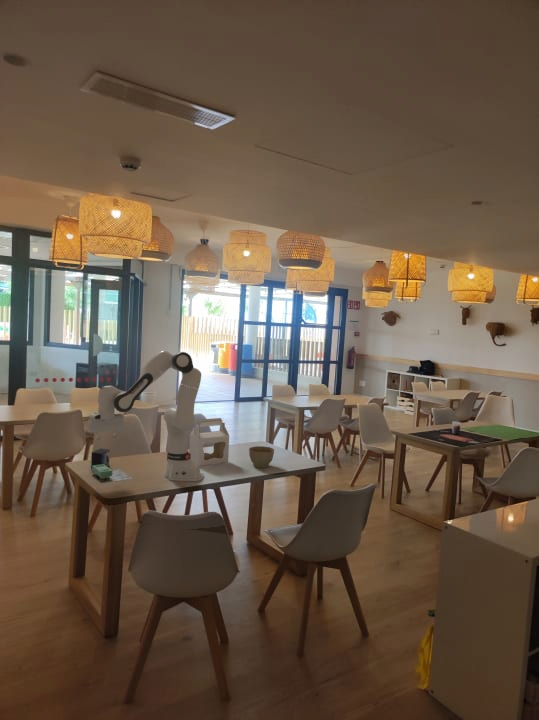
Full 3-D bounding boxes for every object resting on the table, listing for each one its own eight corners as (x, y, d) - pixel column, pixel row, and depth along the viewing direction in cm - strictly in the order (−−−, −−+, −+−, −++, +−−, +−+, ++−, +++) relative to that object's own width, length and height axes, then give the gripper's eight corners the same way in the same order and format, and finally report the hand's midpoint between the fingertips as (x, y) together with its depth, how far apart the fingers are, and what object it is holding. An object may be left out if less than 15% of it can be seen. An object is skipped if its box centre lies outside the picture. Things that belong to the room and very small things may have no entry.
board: (112, 475, 285) (112, 470, 284) (100, 477, 281) (100, 472, 280) (103, 469, 296) (103, 464, 295) (92, 470, 292) (92, 465, 292)
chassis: (133, 480, 287) (133, 470, 286) (102, 484, 276) (102, 474, 276) (119, 470, 303) (120, 461, 302) (90, 474, 292) (90, 465, 292)
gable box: (197, 466, 321) (199, 421, 319) (188, 461, 331) (190, 418, 329) (228, 462, 334) (230, 419, 332) (218, 457, 344) (220, 415, 342)
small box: (100, 470, 301) (101, 453, 300) (90, 469, 302) (90, 452, 302) (109, 466, 311) (110, 449, 311) (99, 465, 313) (100, 448, 312)
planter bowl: (256, 461, 339) (256, 444, 339) (277, 465, 332) (278, 448, 331) (243, 466, 325) (244, 449, 324) (265, 471, 318) (266, 453, 317)
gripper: (122, 412, 297) (121, 435, 298) (86, 415, 285) (85, 439, 286) (126, 414, 292) (125, 438, 293) (90, 416, 280) (89, 442, 281)
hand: (105, 438), depth 289 cm, fingers open, 8 cm apart
